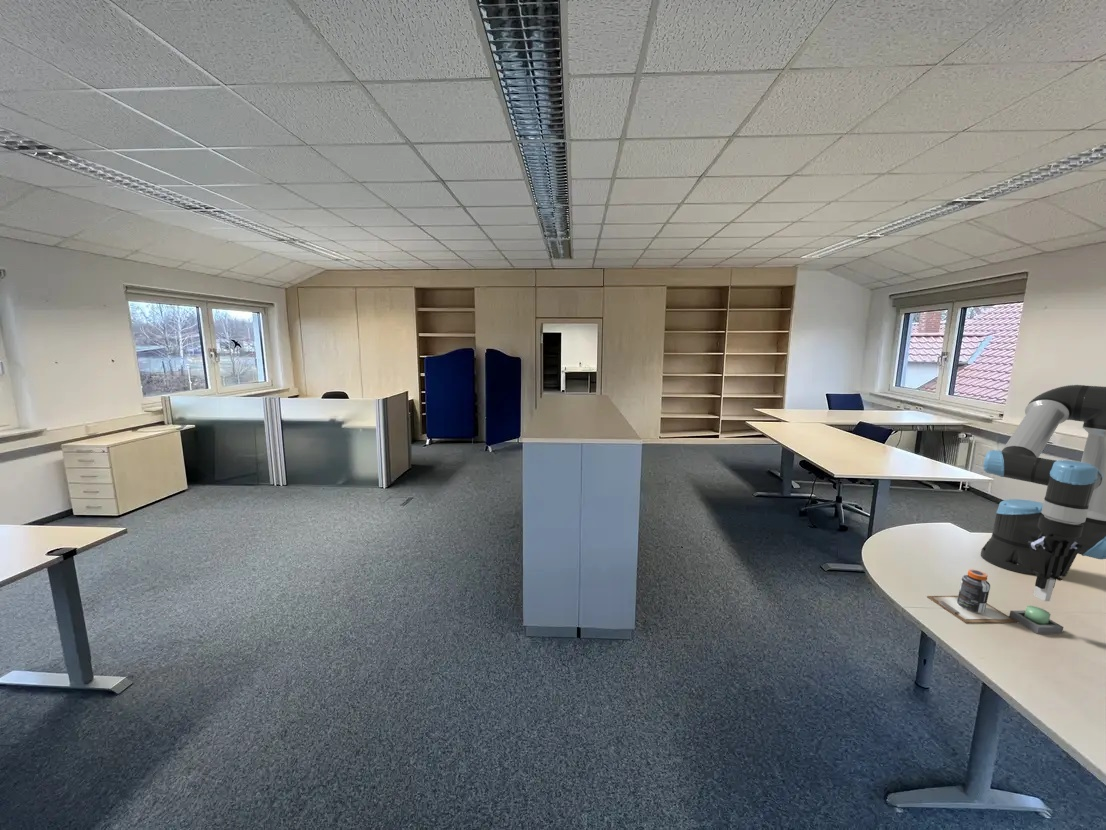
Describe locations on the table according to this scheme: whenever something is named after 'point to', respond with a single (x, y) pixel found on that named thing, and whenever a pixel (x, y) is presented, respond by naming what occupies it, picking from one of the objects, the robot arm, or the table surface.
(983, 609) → the pill bottle
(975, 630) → the table surface
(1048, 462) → the robot arm
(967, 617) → the clipboard
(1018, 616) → the button frame
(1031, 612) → the button
